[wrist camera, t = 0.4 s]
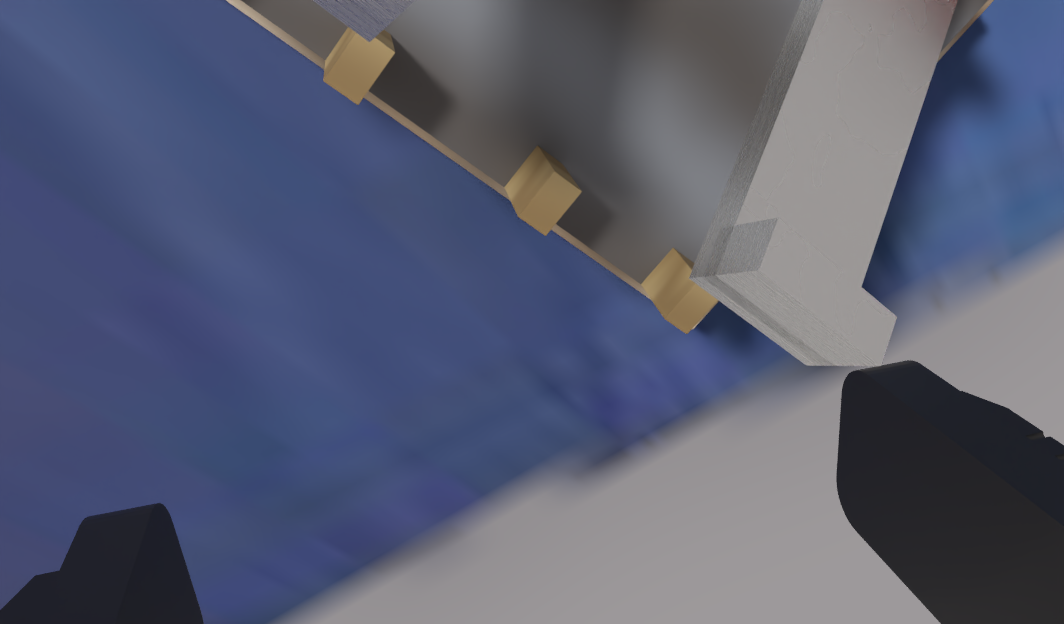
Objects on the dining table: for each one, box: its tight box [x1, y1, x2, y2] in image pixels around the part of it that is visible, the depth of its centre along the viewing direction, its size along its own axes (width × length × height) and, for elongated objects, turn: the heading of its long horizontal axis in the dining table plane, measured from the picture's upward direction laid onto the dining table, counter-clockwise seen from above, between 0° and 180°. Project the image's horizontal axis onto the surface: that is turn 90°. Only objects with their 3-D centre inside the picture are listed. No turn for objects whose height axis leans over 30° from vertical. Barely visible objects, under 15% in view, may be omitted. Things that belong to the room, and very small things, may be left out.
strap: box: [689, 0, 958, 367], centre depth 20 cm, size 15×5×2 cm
